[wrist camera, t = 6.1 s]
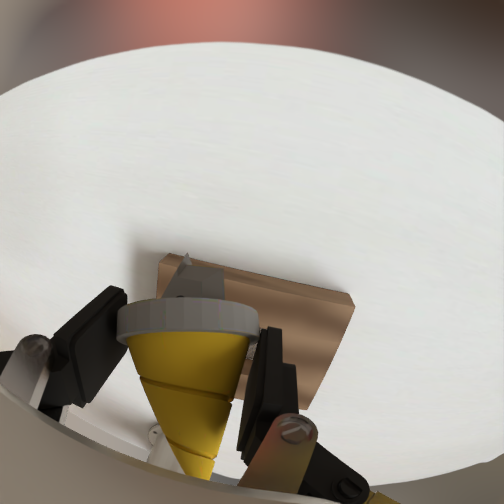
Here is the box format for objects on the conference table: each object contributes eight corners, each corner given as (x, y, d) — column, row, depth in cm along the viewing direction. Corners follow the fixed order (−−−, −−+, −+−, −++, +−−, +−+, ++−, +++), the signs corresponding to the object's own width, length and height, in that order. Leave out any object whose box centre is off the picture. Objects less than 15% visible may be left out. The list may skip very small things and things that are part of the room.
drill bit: (278, 244, 12) (306, 491, 7) (203, 284, 15) (216, 471, 11) (160, 197, 8) (174, 542, 4) (107, 259, 12) (110, 485, 7)
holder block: (305, 394, 35) (306, 410, 32) (161, 362, 35) (154, 376, 32) (349, 293, 30) (355, 307, 27) (169, 253, 30) (159, 262, 27)
